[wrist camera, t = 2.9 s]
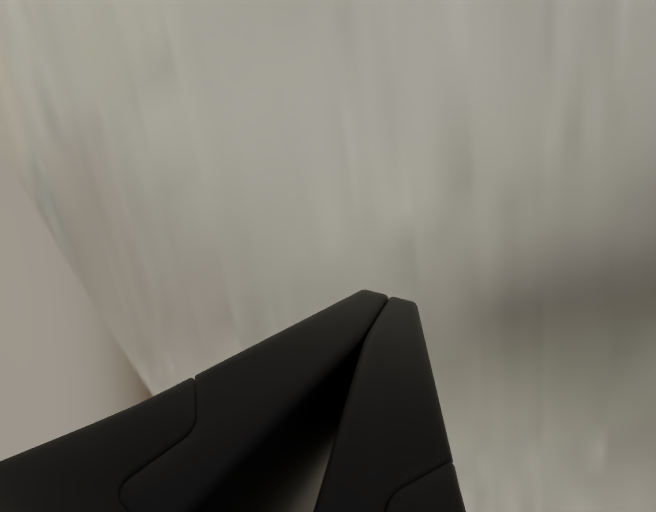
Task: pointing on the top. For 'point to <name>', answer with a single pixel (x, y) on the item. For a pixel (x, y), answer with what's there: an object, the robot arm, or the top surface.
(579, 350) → the top surface
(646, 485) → the top surface
